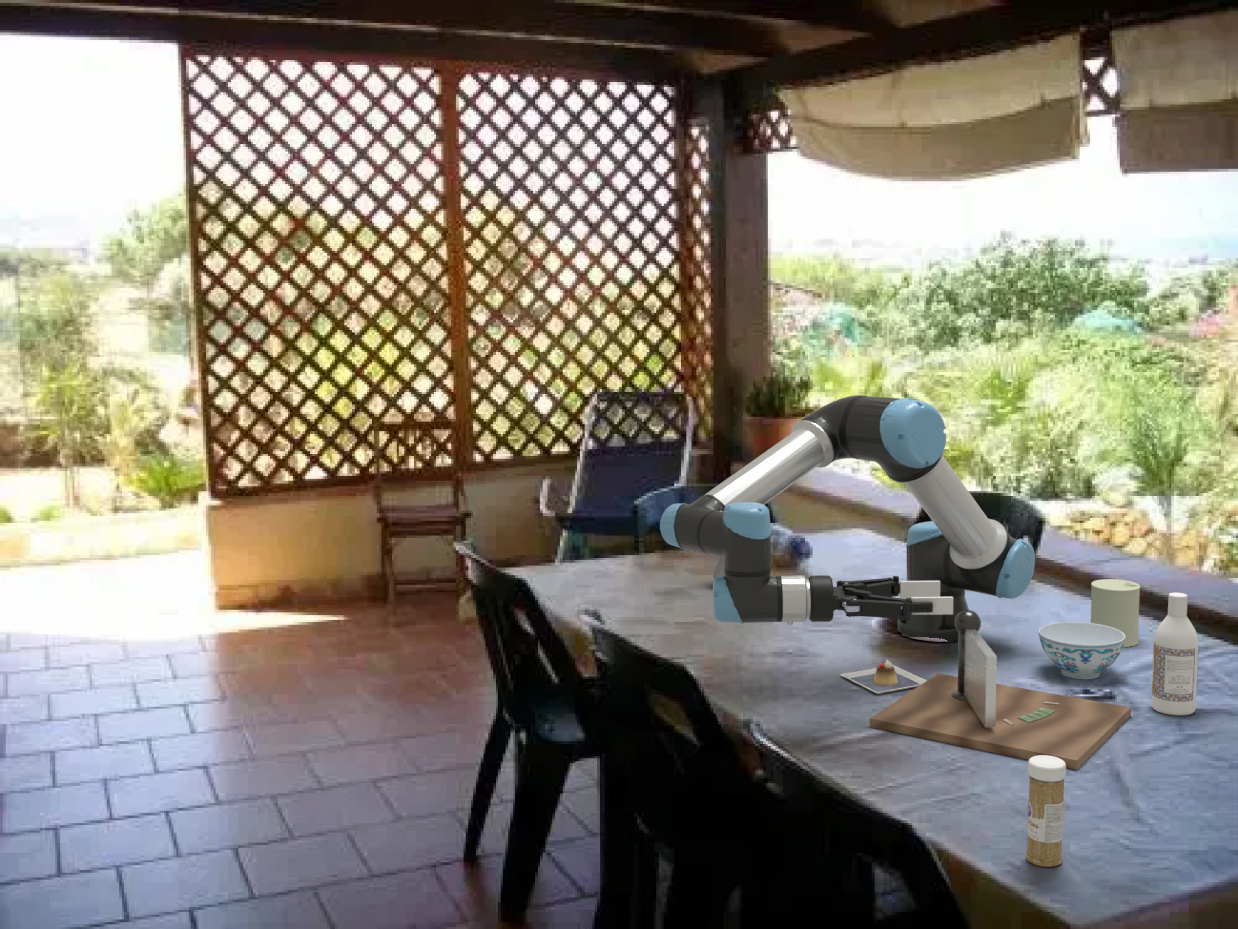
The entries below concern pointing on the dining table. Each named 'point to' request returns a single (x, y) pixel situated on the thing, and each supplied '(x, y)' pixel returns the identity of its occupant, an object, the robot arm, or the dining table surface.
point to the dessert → (885, 676)
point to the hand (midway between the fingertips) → (946, 597)
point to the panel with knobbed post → (976, 667)
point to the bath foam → (1175, 661)
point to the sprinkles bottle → (1045, 810)
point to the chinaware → (1081, 647)
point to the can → (1116, 607)
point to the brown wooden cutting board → (1005, 721)
